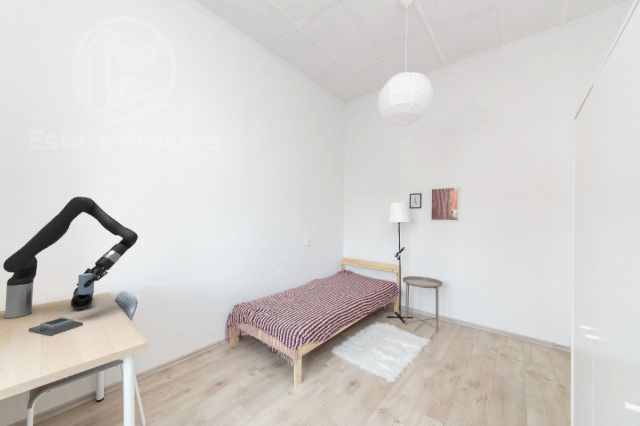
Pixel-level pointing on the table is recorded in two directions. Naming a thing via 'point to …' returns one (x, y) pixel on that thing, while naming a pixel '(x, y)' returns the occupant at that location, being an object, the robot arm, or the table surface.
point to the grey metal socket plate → (55, 326)
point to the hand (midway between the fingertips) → (81, 286)
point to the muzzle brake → (81, 300)
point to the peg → (82, 280)
